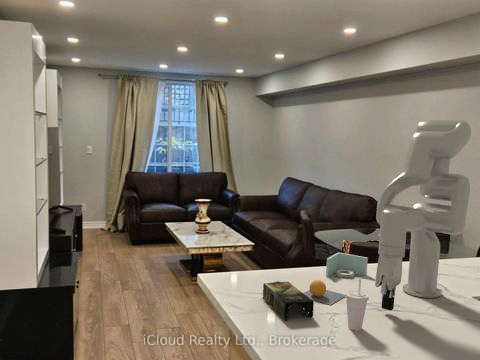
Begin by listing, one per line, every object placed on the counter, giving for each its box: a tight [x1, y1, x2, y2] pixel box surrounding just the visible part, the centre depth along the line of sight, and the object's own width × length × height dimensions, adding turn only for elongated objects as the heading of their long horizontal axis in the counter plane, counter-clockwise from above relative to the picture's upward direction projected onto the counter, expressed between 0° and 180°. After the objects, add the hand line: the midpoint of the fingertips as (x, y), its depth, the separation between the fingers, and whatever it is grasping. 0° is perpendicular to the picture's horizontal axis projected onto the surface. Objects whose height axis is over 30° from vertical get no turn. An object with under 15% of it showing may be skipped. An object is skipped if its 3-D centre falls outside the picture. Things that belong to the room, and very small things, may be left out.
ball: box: [308, 279, 327, 297], centre depth 156 cm, size 6×6×6 cm
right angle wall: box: [325, 252, 369, 279], centre depth 180 cm, size 12×12×8 cm
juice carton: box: [262, 280, 315, 322], centre depth 145 cm, size 20×10×6 cm, turn 18°
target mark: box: [303, 289, 346, 306], centre depth 157 cm, size 12×12×1 cm
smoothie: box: [344, 279, 370, 332], centre depth 131 cm, size 6×6×14 cm
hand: (387, 308), depth 143 cm, fingers closed
